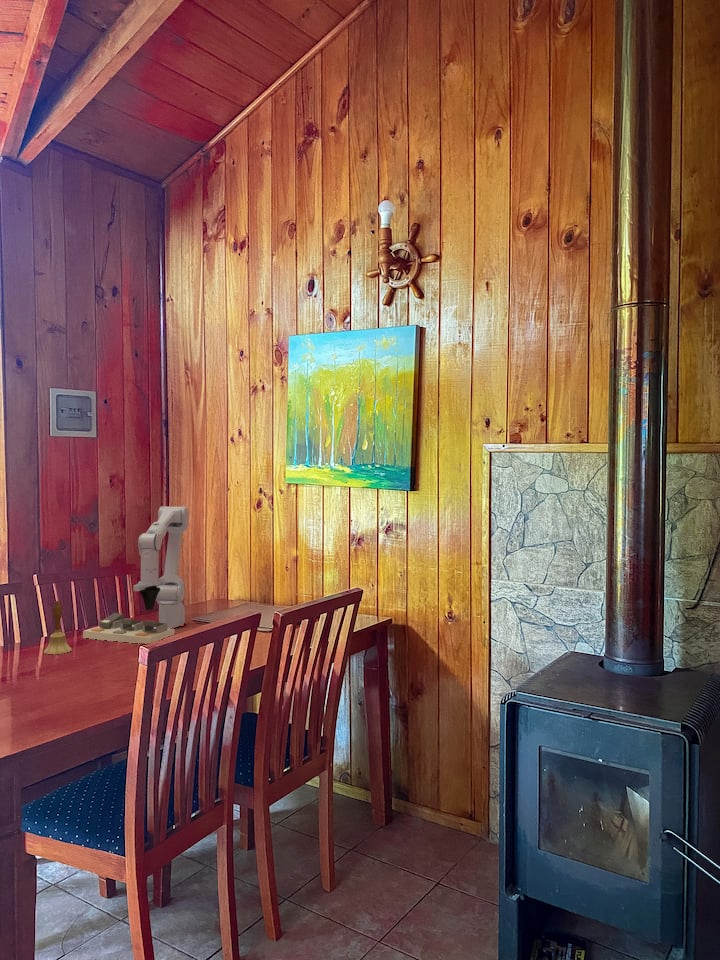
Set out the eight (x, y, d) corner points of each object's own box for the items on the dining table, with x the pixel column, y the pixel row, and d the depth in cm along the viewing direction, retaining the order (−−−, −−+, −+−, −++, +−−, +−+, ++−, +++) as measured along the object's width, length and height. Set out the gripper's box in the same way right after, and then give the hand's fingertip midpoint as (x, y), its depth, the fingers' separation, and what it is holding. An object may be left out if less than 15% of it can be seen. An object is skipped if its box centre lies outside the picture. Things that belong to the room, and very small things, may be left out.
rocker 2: (156, 627, 251) (157, 622, 251) (166, 628, 249) (167, 623, 250) (142, 625, 244) (143, 620, 244) (152, 626, 242) (153, 621, 243)
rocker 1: (114, 617, 257) (113, 612, 257) (123, 617, 256) (123, 613, 256) (99, 626, 250) (98, 622, 250) (109, 627, 249) (108, 623, 248)
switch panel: (110, 629, 259) (110, 616, 259) (174, 636, 250) (174, 622, 250) (83, 638, 246) (83, 624, 246) (149, 645, 237) (149, 631, 237)
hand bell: (65, 655, 224) (65, 603, 224) (38, 654, 224) (38, 603, 224) (76, 648, 233) (76, 598, 232) (50, 648, 233) (50, 598, 232)
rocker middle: (134, 625, 254) (135, 620, 254) (144, 626, 253) (145, 621, 253) (120, 623, 247) (121, 618, 247) (130, 624, 245) (131, 619, 246)
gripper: (152, 565, 252) (152, 604, 252) (125, 571, 238) (125, 612, 238) (170, 566, 249) (170, 606, 250) (143, 572, 236) (143, 614, 236)
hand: (149, 609), depth 244 cm, fingers closed
